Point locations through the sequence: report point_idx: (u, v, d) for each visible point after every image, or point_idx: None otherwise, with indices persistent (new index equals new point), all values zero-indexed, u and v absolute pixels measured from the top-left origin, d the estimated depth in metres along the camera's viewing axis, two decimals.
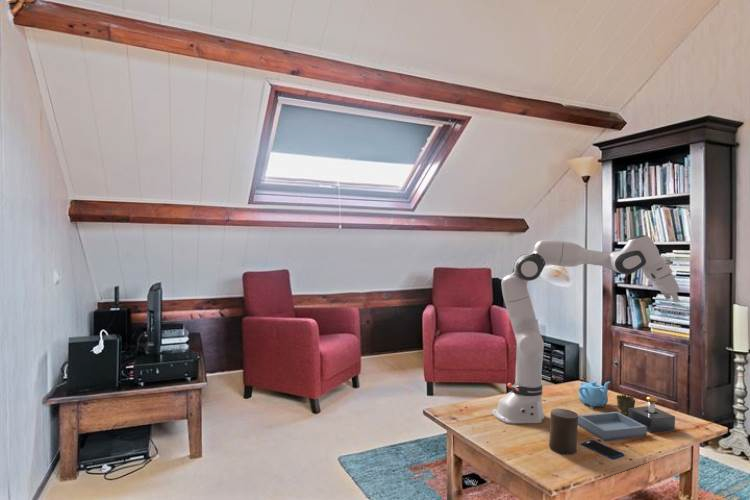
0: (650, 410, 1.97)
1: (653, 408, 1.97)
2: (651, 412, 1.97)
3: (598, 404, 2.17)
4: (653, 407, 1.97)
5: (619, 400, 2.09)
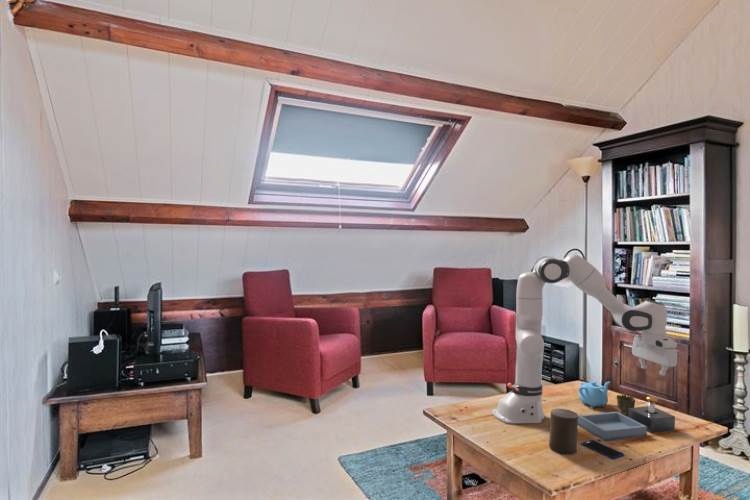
0: (650, 410, 1.97)
1: (653, 408, 1.97)
2: (651, 412, 1.97)
3: (598, 404, 2.17)
4: (653, 407, 1.97)
5: (619, 400, 2.09)
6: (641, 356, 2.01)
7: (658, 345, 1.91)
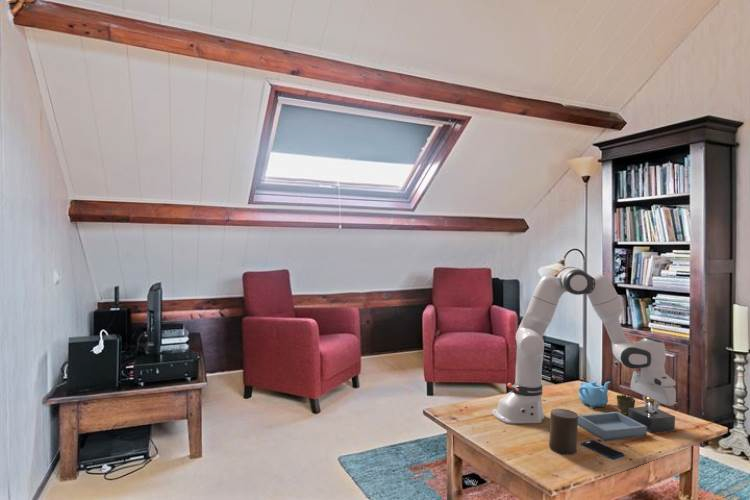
0: (650, 410, 1.97)
1: None
2: (651, 412, 1.97)
3: (598, 404, 2.17)
4: None
5: (619, 400, 2.09)
6: (640, 392, 2.02)
7: (657, 383, 1.91)
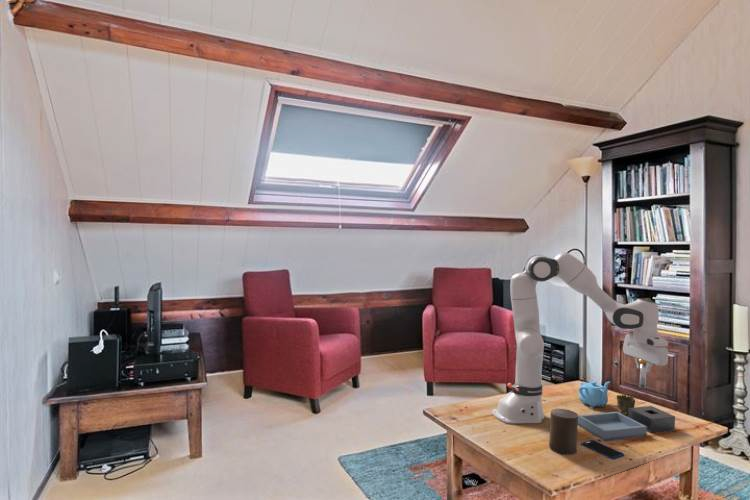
0: (642, 372, 1.96)
1: None
2: (643, 374, 1.96)
3: (598, 404, 2.17)
4: None
5: (619, 400, 2.09)
6: (632, 354, 2.00)
7: (649, 343, 1.90)
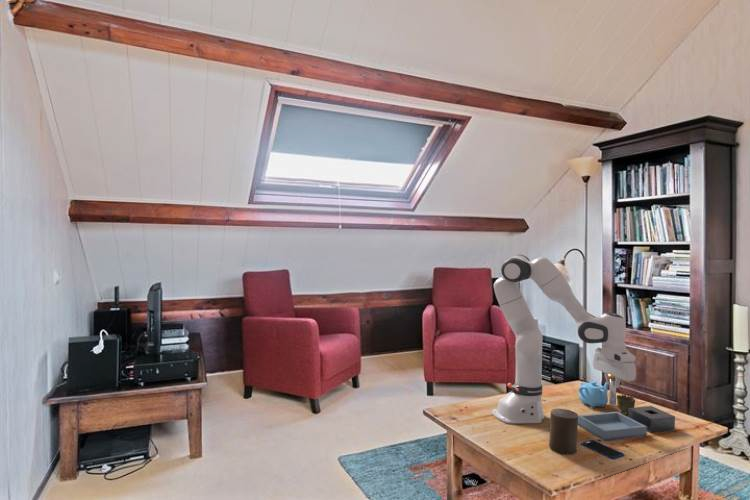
0: (611, 387, 1.92)
1: None
2: (612, 389, 1.92)
3: (598, 404, 2.17)
4: None
5: (619, 400, 2.09)
6: (601, 369, 1.96)
7: (616, 359, 1.86)
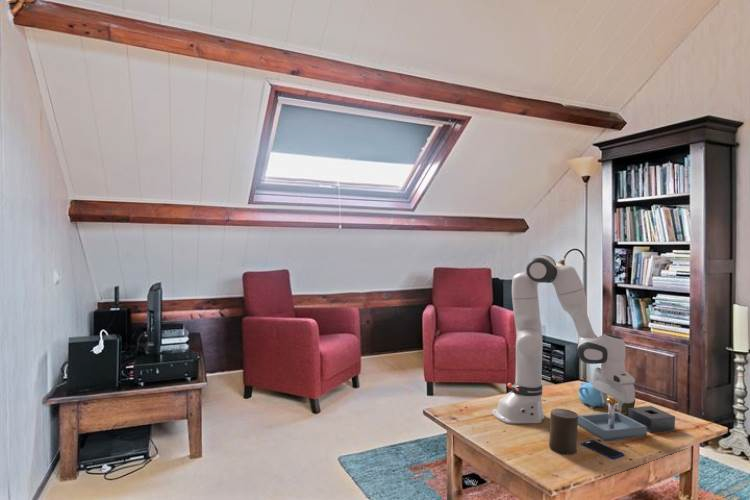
0: (610, 412, 1.92)
1: (613, 409, 1.92)
2: (611, 414, 1.92)
3: (598, 404, 2.17)
4: (613, 408, 1.92)
5: None
6: (600, 390, 1.97)
7: (616, 380, 1.86)
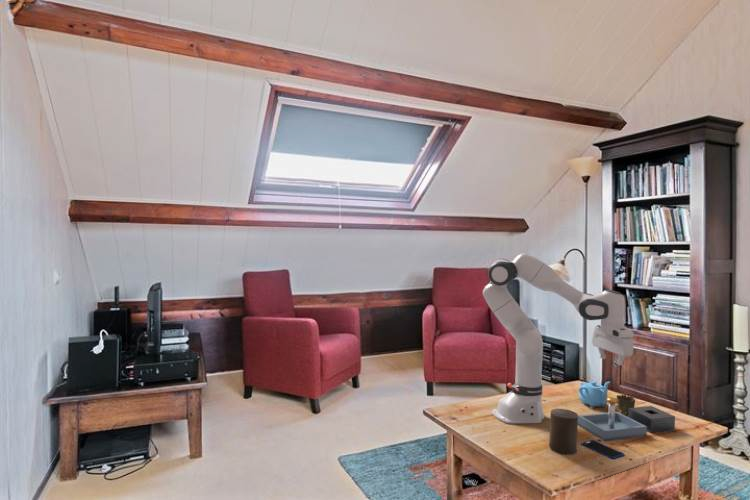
0: (610, 411, 1.92)
1: (613, 409, 1.92)
2: (611, 414, 1.92)
3: (598, 404, 2.17)
4: (613, 408, 1.92)
5: (619, 400, 2.09)
6: (600, 346, 2.00)
7: (615, 335, 1.90)
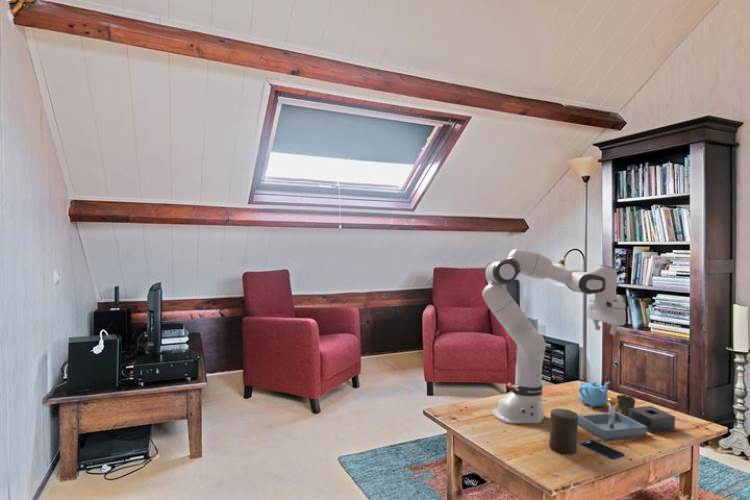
0: (610, 412, 1.92)
1: (613, 410, 1.92)
2: (611, 414, 1.92)
3: (598, 404, 2.17)
4: (613, 409, 1.92)
5: (619, 400, 2.09)
6: (594, 318, 2.15)
7: (608, 306, 2.04)
